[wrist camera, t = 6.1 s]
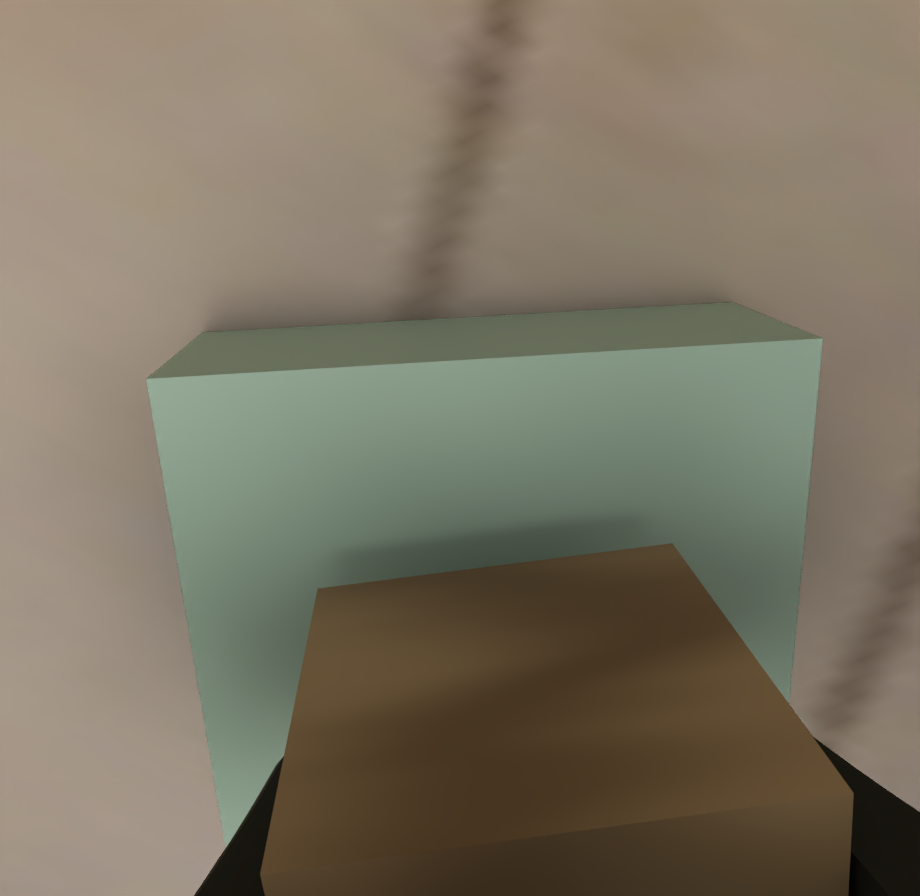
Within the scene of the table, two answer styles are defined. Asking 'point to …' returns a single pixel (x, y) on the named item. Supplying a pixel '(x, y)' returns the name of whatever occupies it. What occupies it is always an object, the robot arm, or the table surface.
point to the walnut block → (548, 743)
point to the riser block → (470, 476)
